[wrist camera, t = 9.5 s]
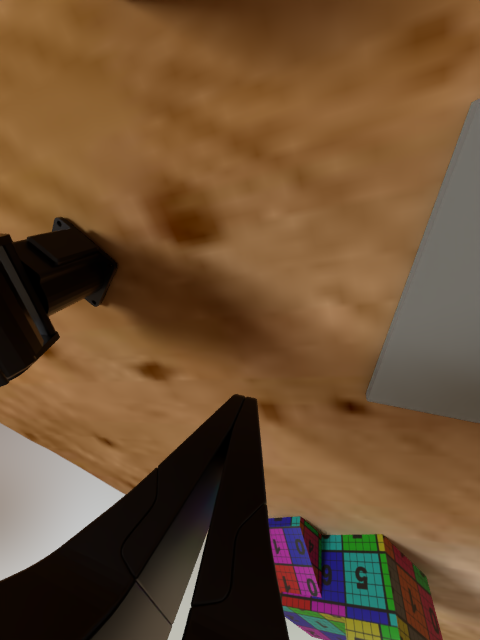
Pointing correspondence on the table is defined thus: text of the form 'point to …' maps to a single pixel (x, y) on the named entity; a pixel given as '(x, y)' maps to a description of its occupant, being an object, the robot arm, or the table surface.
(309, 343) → the table surface
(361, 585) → the block puzzle
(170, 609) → the robot arm
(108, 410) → the table surface
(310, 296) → the table surface
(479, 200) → the rubber mat
